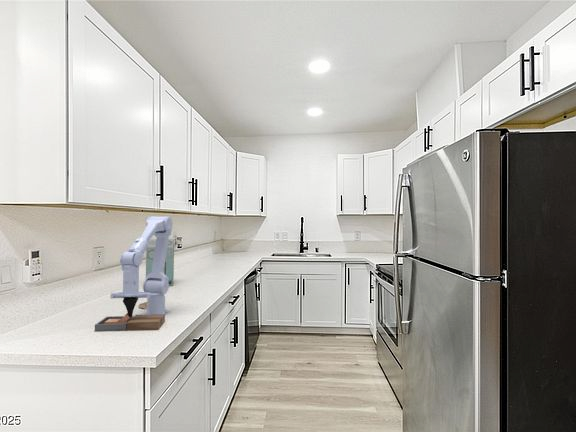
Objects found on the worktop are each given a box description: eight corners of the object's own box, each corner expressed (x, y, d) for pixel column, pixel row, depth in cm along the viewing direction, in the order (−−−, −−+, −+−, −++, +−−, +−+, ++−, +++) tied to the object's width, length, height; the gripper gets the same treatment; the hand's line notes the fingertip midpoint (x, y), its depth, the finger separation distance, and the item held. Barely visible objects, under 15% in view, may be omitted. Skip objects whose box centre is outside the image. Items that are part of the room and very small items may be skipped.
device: (145, 287, 229) (146, 239, 230) (147, 284, 237) (148, 239, 238) (172, 286, 233) (173, 239, 234) (173, 284, 241) (174, 239, 241)
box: (106, 322, 148) (106, 316, 148) (135, 322, 149) (135, 316, 149) (94, 331, 136) (94, 324, 136) (125, 330, 137) (125, 324, 137)
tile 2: (124, 323, 145) (120, 320, 145) (132, 315, 145) (128, 311, 145) (120, 326, 140) (116, 323, 140) (129, 318, 141) (125, 314, 141)
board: (135, 322, 149) (136, 314, 149) (164, 321, 150) (164, 314, 151) (126, 330, 137) (126, 322, 137) (157, 329, 139) (158, 322, 139)
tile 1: (120, 318, 145) (120, 323, 145) (109, 318, 144) (108, 323, 144) (116, 321, 140) (116, 326, 140) (104, 322, 140) (104, 327, 140)
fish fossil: (150, 298, 197) (151, 296, 197) (169, 299, 198) (170, 297, 198) (136, 308, 171) (136, 306, 171) (158, 310, 172) (158, 307, 172)
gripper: (107, 283, 139) (107, 319, 138) (147, 283, 140) (146, 318, 140) (114, 280, 146) (113, 314, 145) (151, 280, 147) (151, 313, 147)
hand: (130, 316), depth 143 cm, fingers closed, pressing on tile 2
